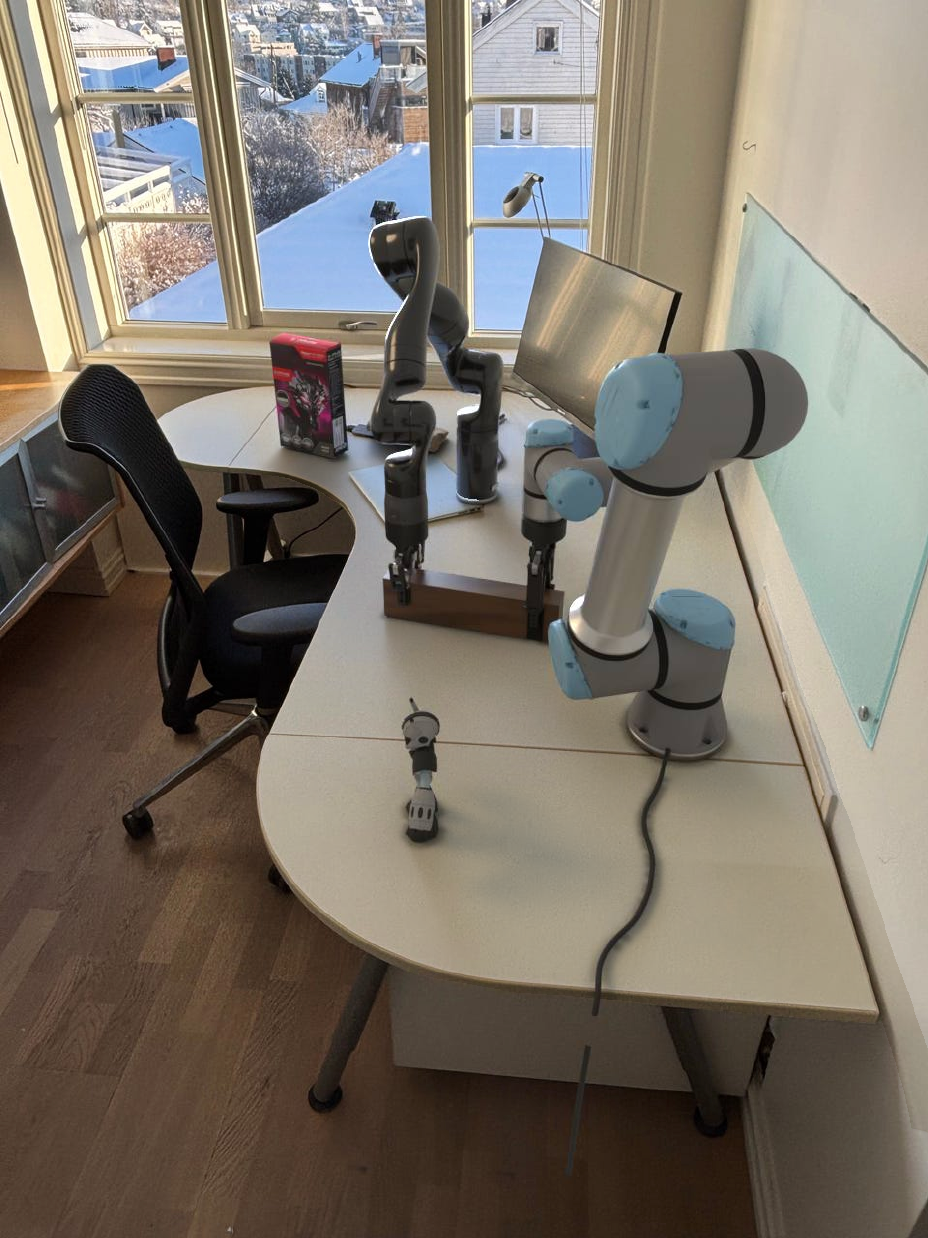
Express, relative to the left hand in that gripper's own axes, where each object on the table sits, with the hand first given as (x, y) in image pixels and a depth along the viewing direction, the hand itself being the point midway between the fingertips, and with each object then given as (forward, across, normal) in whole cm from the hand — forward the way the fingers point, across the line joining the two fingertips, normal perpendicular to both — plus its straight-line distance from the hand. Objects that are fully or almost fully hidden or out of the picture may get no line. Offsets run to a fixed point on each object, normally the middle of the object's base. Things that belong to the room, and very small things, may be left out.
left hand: (408, 596), depth 168 cm
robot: (+4, -49, -18) cm, 52 cm away
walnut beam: (+3, 0, -12) cm, 12 cm away
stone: (+4, +75, +26) cm, 79 cm away
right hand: (+3, 0, -24) cm, 24 cm away
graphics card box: (+4, +64, +46) cm, 79 cm away
